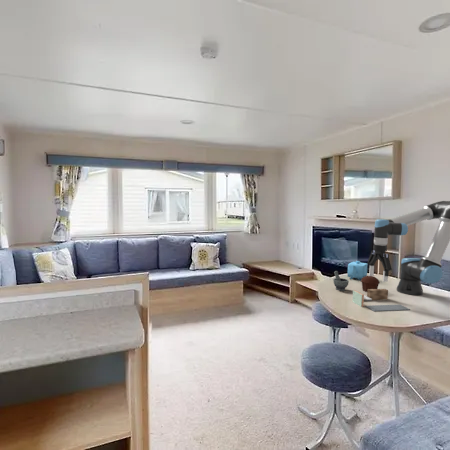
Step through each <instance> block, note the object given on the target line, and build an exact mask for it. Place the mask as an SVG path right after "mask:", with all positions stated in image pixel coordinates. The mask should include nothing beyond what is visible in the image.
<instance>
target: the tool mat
mask: <svg viewBox="0 0 450 450" xmlns="http://www.w3.org/2000/svg"><path fill="white" fill-rule="evenodd" d="M365 306H366V308H367V309H369V310H370V311H373V312H391V311H393V312H394V311H395V312H396V311H397V312H398V311H410V310H411V309H410V308H408V307H406V306H404V305H402V304H380V305H379V304H378V305H376V304H375V305H371V304H370V305H365Z"/></svg>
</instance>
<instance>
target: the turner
mask: <svg viewBox="0 0 450 450" xmlns="http://www.w3.org/2000/svg"><path fill="white" fill-rule="evenodd" d="M363 295H364V301H378V300H379V301H380V299H386V300H388V298H389V296H388V295H389V290H388V289H386V288H377V289H367V292H366V295H365V294H363Z"/></svg>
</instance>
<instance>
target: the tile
mask: <svg viewBox="0 0 450 450" xmlns="http://www.w3.org/2000/svg"><path fill="white" fill-rule="evenodd" d="M364 295H365V294H363V293H361V292H359V291H357V290H352V300H351V301H352V303H354V304H355V305H357V306H358V307H360V308H363V307H364V302H365V300H364Z"/></svg>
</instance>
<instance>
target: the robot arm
mask: <svg viewBox="0 0 450 450" xmlns="http://www.w3.org/2000/svg"><path fill="white" fill-rule="evenodd" d="M436 219H437V220H439V223H438V226H437V229H436V231H435V233H434V235H433V237H432V239H431V242H430V244H429V245H428V246H429V247H428V248H427V251H426V253H425V255H424V256H423V257H420V258H416V257H414V258H413V257H404V258H401V263H400V279H399V281H398V285H397V286H396V291H397V292H398V293H400V294H406V295H409V296H410V295H412V296H423V293H424V290H423V286H422V283H421V282H423V283H426V284H435V283H438V282H439V281H441V279H442V277H443V276H444V275H443V274H444V272H443V269H442V267H443V265H442V263H441V260H442V259H443V257H444V254H445V252H446V250H447V248H448V245H449V243H450V200H440V201H437V202H432V203H430V204H427V205H424V206H422V208H421V209H417V210H414V211H411V212H408V213H405V214H402V215H399V216H396V217H393V218H389V219H382V218H381V219H380V218H377V219H375V220H374V221H375V222H374V237H373V245H372V246H373V247H372V248H373V250H371V251H370V255H369V257H368V260H367V264H368V270H369V271H368V272H369V273H368V276H373V277H375V264H376V263H377V261H378V260H379V261H380V262H381V265H382V267H383V272H382V273H383V274H382V282H385V283H386V282H389V274H390V273H389V272H390V271H392V270H393V269H392V264H391V259H390V254H388V253H386V252H387V251H388V239H389V236H406V235H407V234H408V231H409V226H411V225H413V224H414V225H415V224H417V223H419V222H423V221H426V220H428V221H431V220H436Z"/></svg>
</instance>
